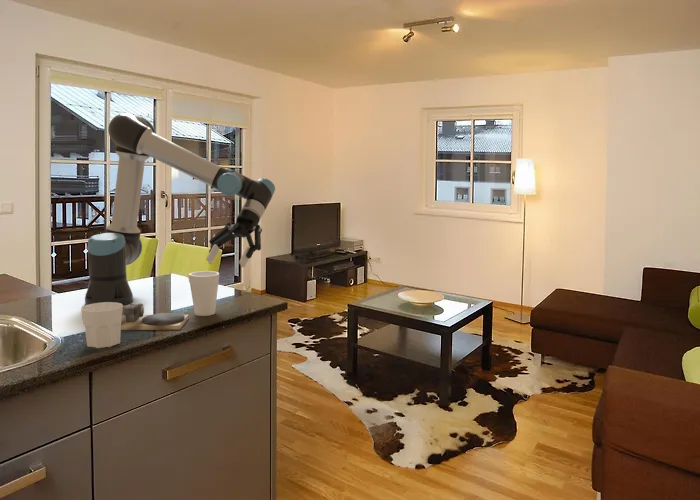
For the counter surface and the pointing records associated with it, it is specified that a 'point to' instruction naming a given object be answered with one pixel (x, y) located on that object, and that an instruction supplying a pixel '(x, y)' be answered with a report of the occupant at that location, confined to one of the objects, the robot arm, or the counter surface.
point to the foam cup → (204, 291)
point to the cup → (102, 323)
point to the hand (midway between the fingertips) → (224, 263)
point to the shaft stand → (150, 319)
